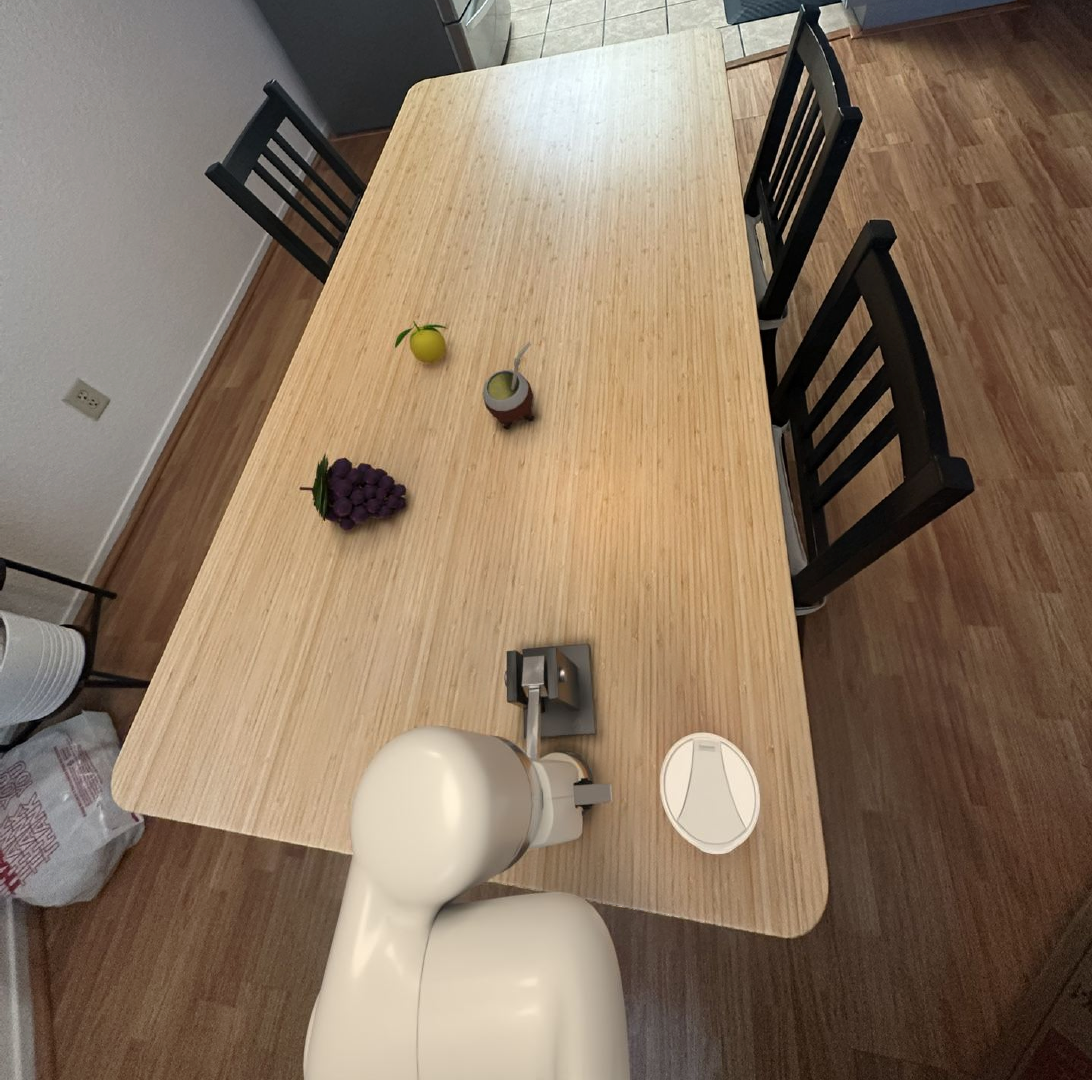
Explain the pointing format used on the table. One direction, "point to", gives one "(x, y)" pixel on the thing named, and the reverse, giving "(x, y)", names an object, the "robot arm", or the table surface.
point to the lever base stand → (558, 690)
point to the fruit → (354, 493)
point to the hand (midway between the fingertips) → (538, 794)
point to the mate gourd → (509, 395)
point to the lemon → (425, 342)
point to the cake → (575, 760)
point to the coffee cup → (709, 792)
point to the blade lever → (534, 699)
